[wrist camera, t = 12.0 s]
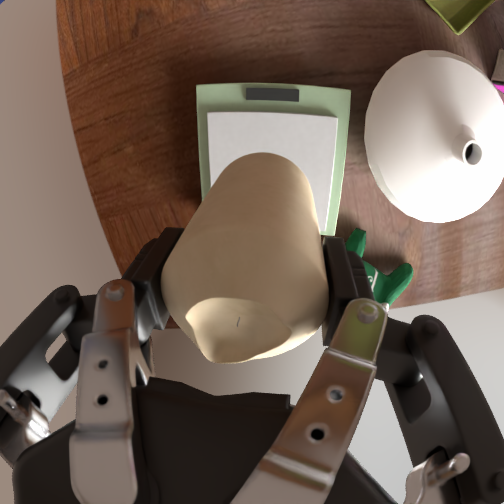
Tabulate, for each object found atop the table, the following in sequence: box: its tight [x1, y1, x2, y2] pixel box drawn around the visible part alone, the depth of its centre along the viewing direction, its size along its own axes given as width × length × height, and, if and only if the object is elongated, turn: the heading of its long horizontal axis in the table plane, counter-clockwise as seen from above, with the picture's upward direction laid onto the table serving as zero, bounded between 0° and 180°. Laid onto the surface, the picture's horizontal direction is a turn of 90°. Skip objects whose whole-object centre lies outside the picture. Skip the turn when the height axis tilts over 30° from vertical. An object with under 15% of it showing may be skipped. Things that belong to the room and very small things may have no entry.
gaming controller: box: [345, 228, 413, 311], centre depth 29 cm, size 9×4×6 cm
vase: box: [364, 50, 504, 223], centre depth 18 cm, size 16×16×7 cm
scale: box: [196, 83, 351, 236], centre depth 24 cm, size 12×13×3 cm
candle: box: [161, 152, 329, 364], centre depth 12 cm, size 6×6×10 cm
